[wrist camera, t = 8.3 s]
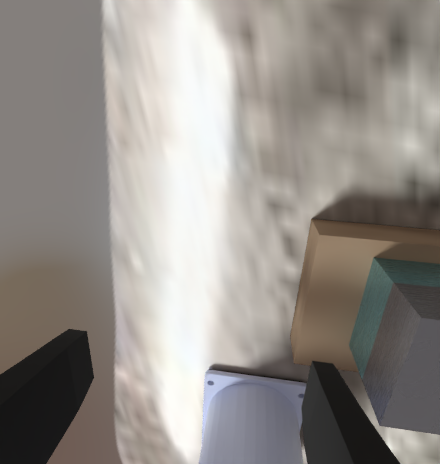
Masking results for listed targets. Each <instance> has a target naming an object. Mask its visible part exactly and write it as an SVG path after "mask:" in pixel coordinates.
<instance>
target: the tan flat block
mask: <svg viewBox="0 0 440 464" xmlns="http://www.w3.org/2000/svg"><path fill="white" fill-rule="evenodd" d="M373 257H376V258H386V259H396V260H406V261H417V262H427V263H437V264H440V230H432V229H420V228H409V227H398V226H386V225H375V224H363V223H352V222H341V221H329V220H318V219H311V225H310V230H309V236H308V241H307V247H306V252H305V258H304V263H303V269H302V274H301V280H300V285H299V291H298V296H297V302H296V307H295V313H294V318H293V324H292V329H291V335H290V338H291V346H292V353H293V360H294V364H301V365H309V366H311V363H312V361H318V362H326V363H333V364H334V366H335V367H336V368H337V369H339V370H346V371H354V372H359V371H358V368H357V365H356V363H355V360H354V358H353V355H352V352H351V350H350V347H349V343H350V339H351V335H352V332H353V328H354V325H355V321H356V318H357V314H358V311H359V307H360V304H361V300H362V296H363V293H364V289H365V286H366V282H367V279H368V275H369V272H370V268H371V264H372V261H373Z"/></svg>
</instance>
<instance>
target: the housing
mask: <svg viewBox="0 0 440 464" xmlns="http://www.w3.org/2000/svg"><path fill="white" fill-rule="evenodd" d="M349 347H350V350H351V352H352V355H353V358H354V360H355V363H356V365H357V368H358V371H359V373H360V376H361V378H362V381H363V384H364V386H365V389H366V391H367V394H368V397H369V399H370V402H371V404H372V407H373V410H374V412H375V415H376V417H377V420H378V423H379V425H380V426H385V427H391V428H398V429H405V430H412V431H418V432H425V433H432V434H439V435H440V264H437V263H427V262H417V261H406V260H396V259H386V258H376V257H373V261H372V264H371V268H370V272H369V275H368V279H367V282H366V286H365V289H364V293H363V296H362V300H361V304H360V307H359V311H358V314H357V318H356V321H355V325H354V328H353V332H352V335H351V339H350V343H349Z"/></svg>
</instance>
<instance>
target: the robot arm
mask: <svg viewBox="0 0 440 464" xmlns="http://www.w3.org/2000/svg"><path fill="white" fill-rule="evenodd" d="M93 378H94V375H93V368H92V362H91V355H90V349H89V343H88V337H87V331H80V330H73V329H68V330H67V331H65V332H64V333H62V334H61V335H59V336H57V337H56V338H54V339H53V340H52V341H50V342H48V343H47V344H46V345H44V346H43V347H41V348H40V349H38V350H37V351H35V352H34V353H32V354H31V355H29V356H28V357H26V358H25V359H23V360H22V361H20V362H19V363H17V364H16V365H14V366H13V367H11V368H10V369H8V370H7V371H5V372H4V373H2V374H1V375H0V464H46V463H47V462H48V460H49V458H50V457H51V455H52V453H53V452H54V450H55V449H56V447H57V445H58V443H59V442H60V440H61V439H62V437H63V436H64V434H65V432H66V430H67V429H68V427H69V426H70V424H71V422H72V421H73V419H74V417H75V416H76V414H77V412H78V410H79V408H80V406H81V404H82V402H83V400H84V398H85V396H86V394H87V392H88V389H89V387H90V385H91V383H92V380H93ZM302 423H303V435H304V446H305V452H306V457H307V463H308V464H400V463H399V461H398V460H397V459H396V457H395V456H394V454H393V453H392V452H391V450H390V449H389V447H388V446H387V445H386V443H385V442H384V440H383V439H382V437H381V436H380V435H379V433H378V432H377V430H376V429H375V427H374V426H373V424H372V423H371V422H370V420H369V419H368V417H367V416H366V414H365V413H364V411H363V410H362V408H361V407H360V405H359V403H358V402H357V400H356V399H355V397H354V396H353V394H352V393H351V391H350V389H349V388H348V386H347V385H346V383H345V381H344V380H343V378H342V377H341V375H340V373H339V372H338V370H337V368H336V367H335V366H334V364H333V363H326V362H318V361H312V363H311V367H310V372H309V376H308V381H307V384H306V383H303V382H296V381H288V380H281V379H274V378H267V377H259V376H252V375H245V374H238V373H230V372H223V371H216V370H208V371H207V372H206V373H205V381H204V404H203V427H202V447H201V453H200V459H199V464H303V457H302V449H301V441H300V429H301V425H302Z"/></svg>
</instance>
